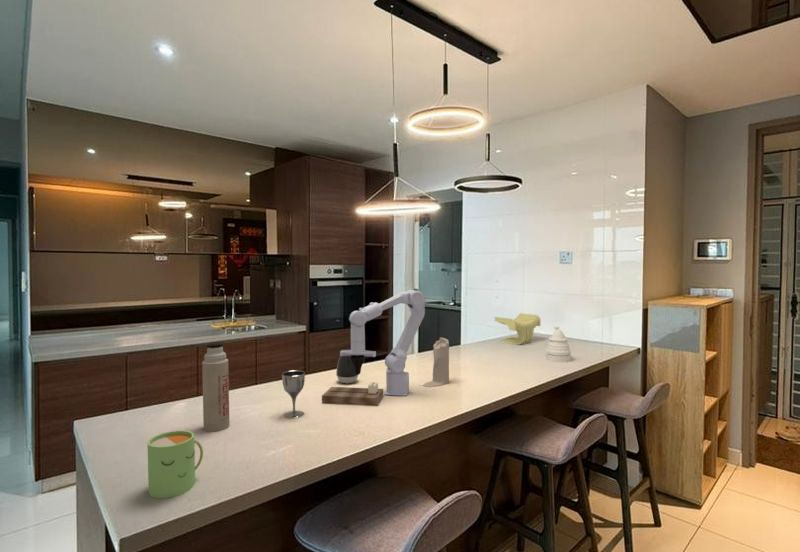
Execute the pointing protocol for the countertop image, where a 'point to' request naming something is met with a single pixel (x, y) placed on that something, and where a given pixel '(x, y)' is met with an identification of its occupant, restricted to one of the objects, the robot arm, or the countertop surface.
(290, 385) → the silver metal goblet
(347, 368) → the pump dispenser
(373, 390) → the fader tab
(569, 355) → the honey pot
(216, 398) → the thermos bottle
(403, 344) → the robot arm
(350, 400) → the fader console
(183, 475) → the mug
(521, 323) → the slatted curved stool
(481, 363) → the countertop surface
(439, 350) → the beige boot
